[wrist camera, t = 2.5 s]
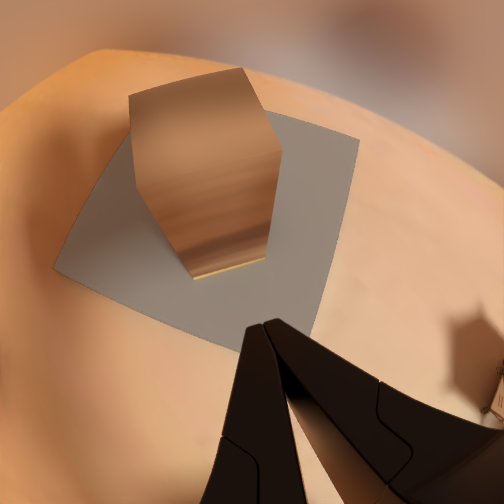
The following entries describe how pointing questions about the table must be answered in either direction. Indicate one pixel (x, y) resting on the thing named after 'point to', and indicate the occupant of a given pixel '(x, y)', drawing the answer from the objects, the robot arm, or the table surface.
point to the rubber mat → (232, 281)
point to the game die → (498, 399)
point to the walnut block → (207, 168)
